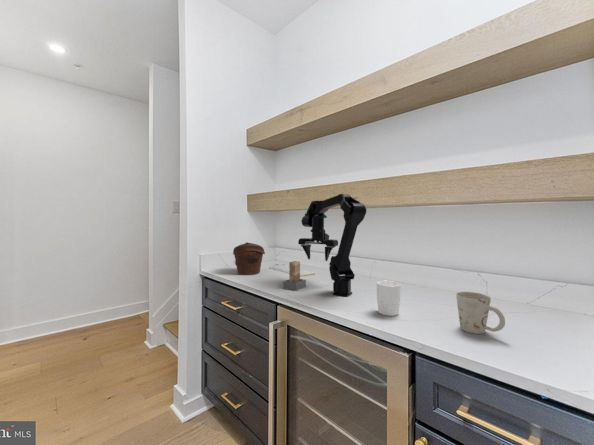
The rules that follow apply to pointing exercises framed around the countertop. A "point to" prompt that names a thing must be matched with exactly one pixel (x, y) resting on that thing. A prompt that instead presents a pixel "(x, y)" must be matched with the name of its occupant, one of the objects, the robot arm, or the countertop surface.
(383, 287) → the white cup
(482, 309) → the mug
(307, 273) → the baseboard
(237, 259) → the brown tapered cylinder
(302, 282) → the end cap
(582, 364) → the countertop surface
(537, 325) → the countertop surface
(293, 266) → the slat
